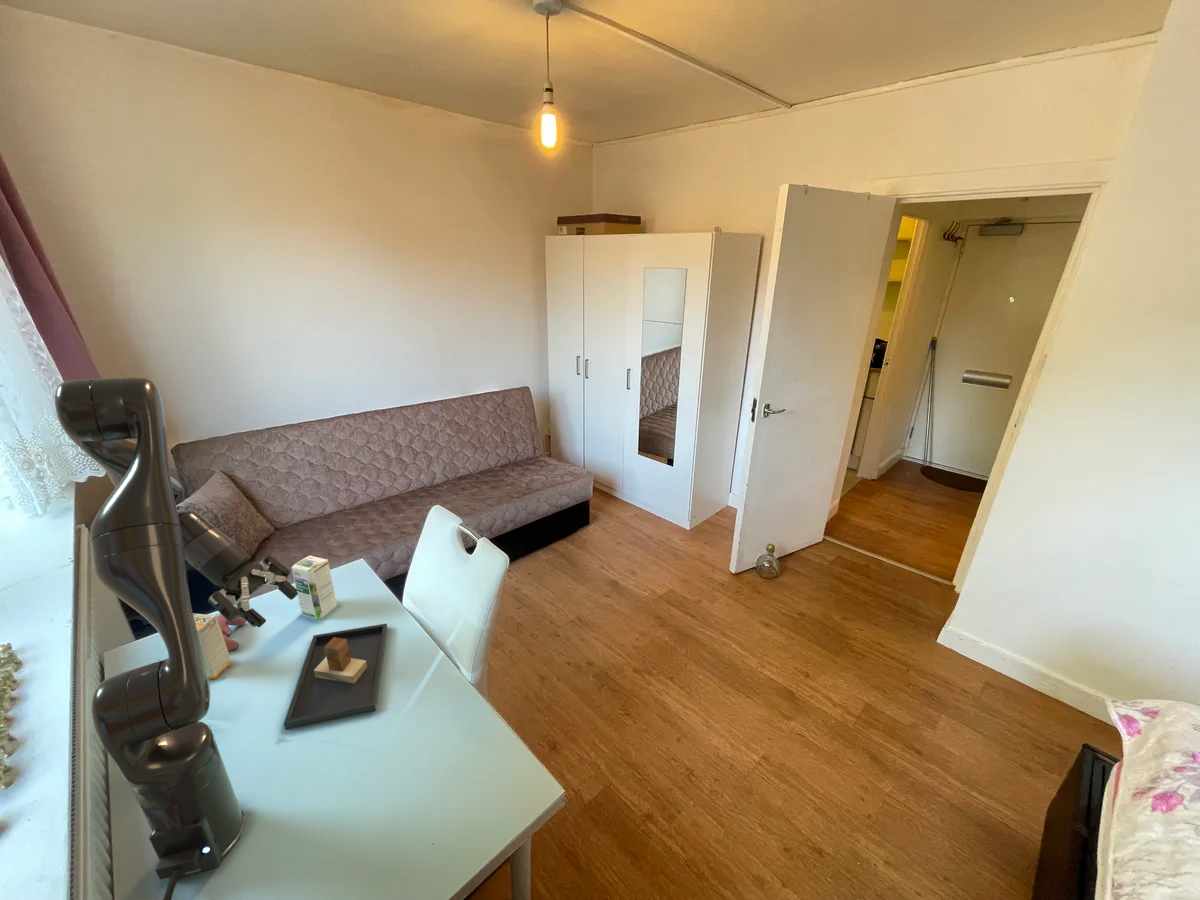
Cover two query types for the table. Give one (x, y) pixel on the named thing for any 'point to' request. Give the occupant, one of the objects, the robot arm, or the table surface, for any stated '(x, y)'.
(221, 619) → the video game controller
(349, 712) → the tray
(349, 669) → the stacked wooden blocks
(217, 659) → the supplement box
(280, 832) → the table surface
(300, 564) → the syrup box
